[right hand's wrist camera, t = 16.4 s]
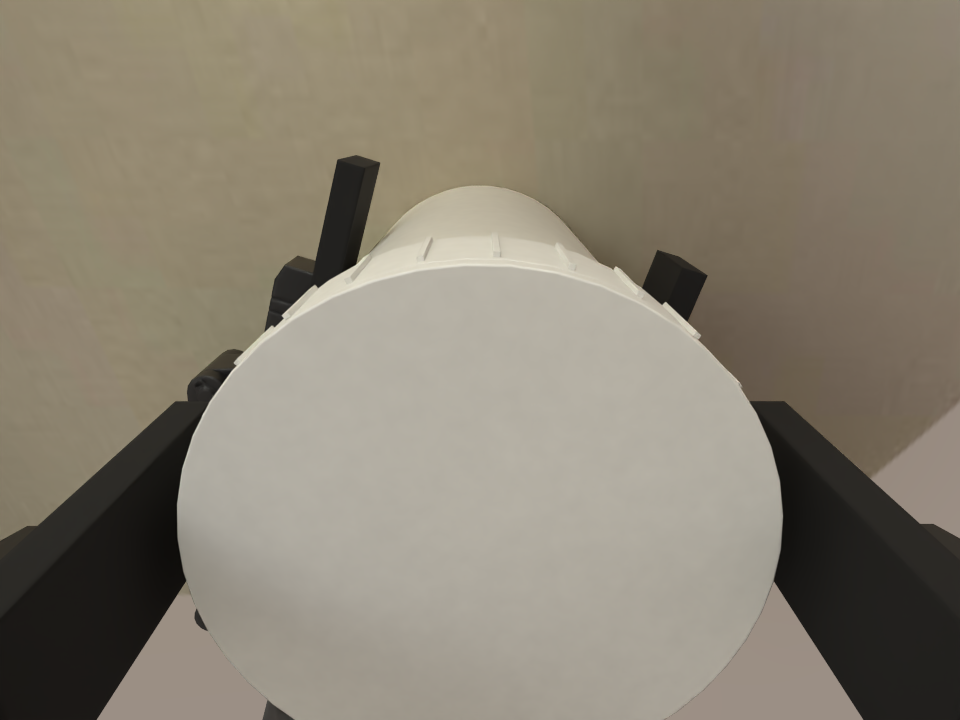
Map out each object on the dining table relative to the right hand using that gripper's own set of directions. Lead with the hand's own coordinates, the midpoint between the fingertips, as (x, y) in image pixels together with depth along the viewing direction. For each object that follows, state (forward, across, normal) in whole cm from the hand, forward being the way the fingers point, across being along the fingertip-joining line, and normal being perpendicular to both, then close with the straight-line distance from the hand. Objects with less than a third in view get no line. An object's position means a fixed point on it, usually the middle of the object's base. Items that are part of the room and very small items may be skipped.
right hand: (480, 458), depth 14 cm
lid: (-3, 0, 0) cm, 3 cm away
